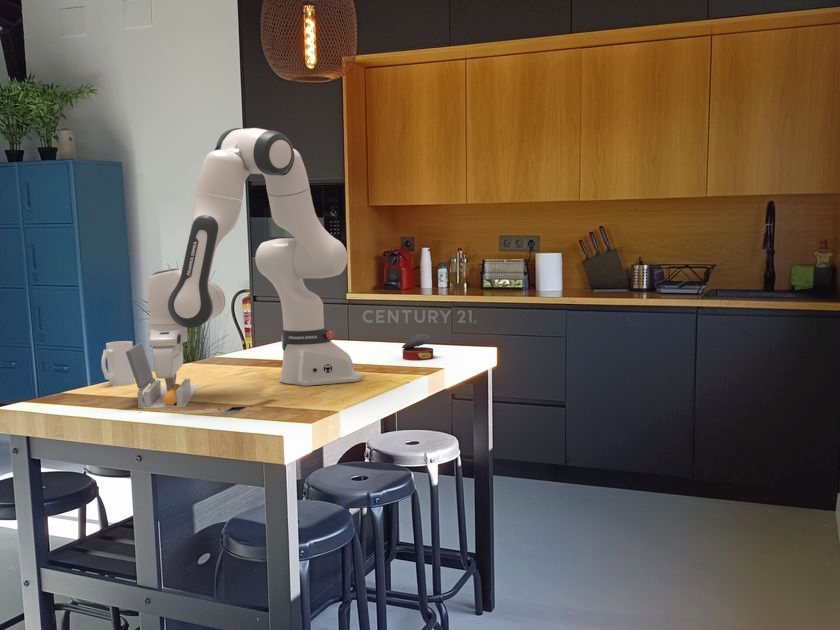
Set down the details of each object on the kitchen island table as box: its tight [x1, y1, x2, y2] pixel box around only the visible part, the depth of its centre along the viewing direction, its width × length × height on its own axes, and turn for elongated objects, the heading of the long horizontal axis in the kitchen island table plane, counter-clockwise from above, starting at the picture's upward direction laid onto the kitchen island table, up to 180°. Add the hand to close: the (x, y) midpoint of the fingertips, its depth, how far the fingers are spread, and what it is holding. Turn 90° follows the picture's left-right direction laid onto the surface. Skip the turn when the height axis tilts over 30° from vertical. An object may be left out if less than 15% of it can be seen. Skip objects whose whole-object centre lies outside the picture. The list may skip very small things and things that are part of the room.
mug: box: [100, 340, 135, 387], centre depth 213 cm, size 10×7×12 cm, turn 157°
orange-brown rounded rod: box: [163, 383, 181, 406], centre depth 190 cm, size 3×12×3 cm
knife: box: [217, 395, 260, 417], centre depth 185 cm, size 22×1×5 cm
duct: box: [136, 377, 199, 414], centre depth 196 cm, size 10×26×5 cm, turn 9°
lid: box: [126, 342, 155, 392], centre depth 190 cm, size 10×15×1 cm
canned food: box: [401, 333, 434, 362], centre depth 254 cm, size 11×10×10 cm
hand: (171, 390), depth 197 cm, fingers closed
